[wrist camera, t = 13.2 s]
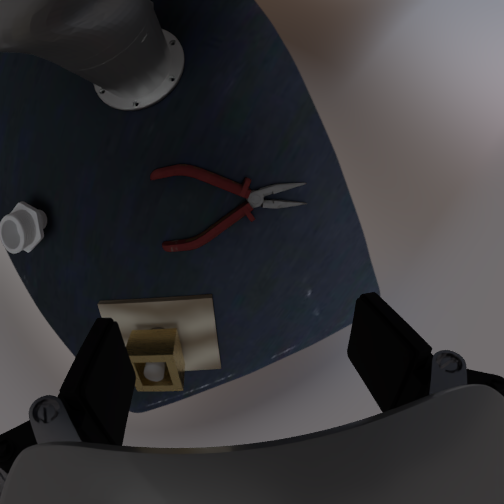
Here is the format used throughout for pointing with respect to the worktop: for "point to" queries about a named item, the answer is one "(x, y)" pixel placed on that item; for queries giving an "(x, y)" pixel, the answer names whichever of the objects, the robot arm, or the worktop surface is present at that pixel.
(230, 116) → the worktop surface
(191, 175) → the pliers
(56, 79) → the worktop surface
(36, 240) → the pipe fitting
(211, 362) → the post stand
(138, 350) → the hollow wooden cube
